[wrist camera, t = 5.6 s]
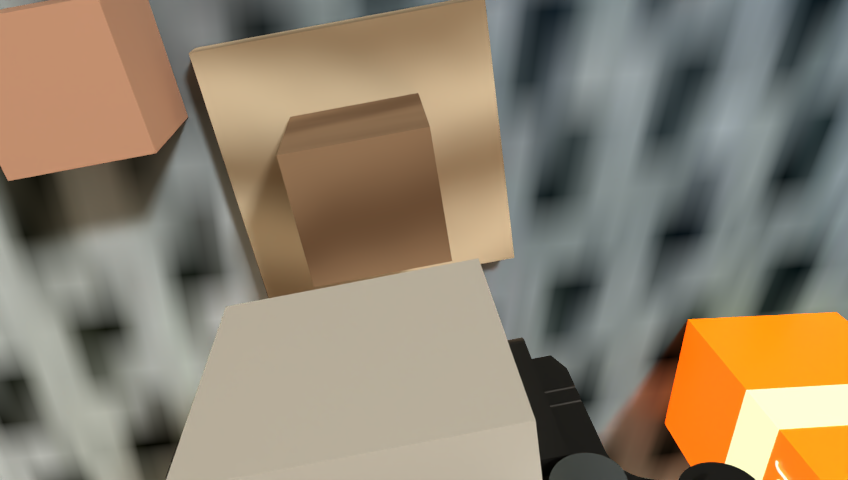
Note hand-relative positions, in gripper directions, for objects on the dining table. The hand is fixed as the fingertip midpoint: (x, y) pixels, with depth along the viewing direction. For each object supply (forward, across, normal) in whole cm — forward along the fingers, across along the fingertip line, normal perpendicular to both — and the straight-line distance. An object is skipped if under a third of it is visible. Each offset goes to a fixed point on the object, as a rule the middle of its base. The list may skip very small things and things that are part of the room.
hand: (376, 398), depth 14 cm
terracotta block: (+17, +10, -6) cm, 21 cm away
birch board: (+17, 0, 0) cm, 17 cm away
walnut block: (+15, 0, 0) cm, 15 cm away
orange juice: (+17, -19, +17) cm, 31 cm away
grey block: (+1, 0, 0) cm, 1 cm away
